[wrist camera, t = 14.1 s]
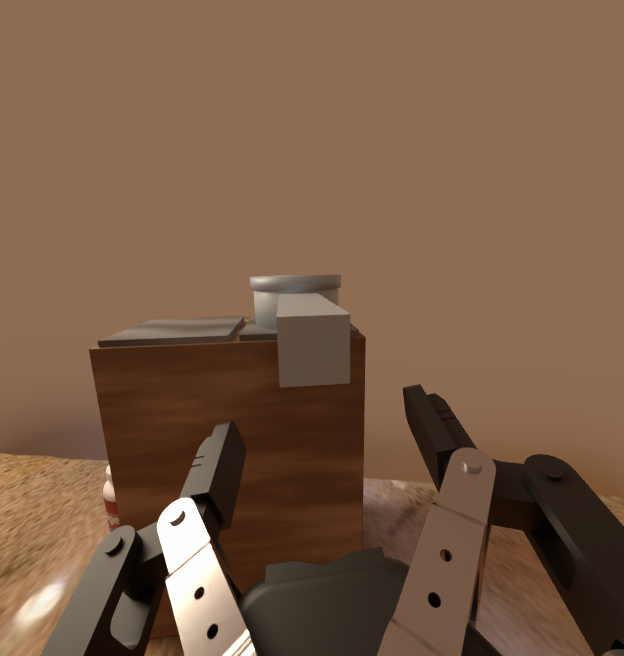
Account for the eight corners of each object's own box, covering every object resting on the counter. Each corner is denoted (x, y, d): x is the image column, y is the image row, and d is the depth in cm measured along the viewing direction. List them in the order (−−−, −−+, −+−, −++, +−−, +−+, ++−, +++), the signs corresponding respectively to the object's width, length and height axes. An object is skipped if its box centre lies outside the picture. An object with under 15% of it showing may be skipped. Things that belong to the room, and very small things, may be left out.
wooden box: (188, 515, 47) (163, 314, 40) (336, 501, 49) (335, 308, 42) (140, 639, 31) (87, 342, 25) (361, 610, 33) (365, 330, 27)
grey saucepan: (256, 316, 36) (254, 276, 35) (333, 314, 37) (332, 274, 36) (215, 391, 14) (206, 286, 13) (408, 380, 15) (413, 280, 14)
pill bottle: (107, 527, 45) (95, 463, 43) (151, 505, 49) (142, 445, 47) (116, 555, 40) (103, 485, 38) (163, 527, 44) (154, 463, 42)
